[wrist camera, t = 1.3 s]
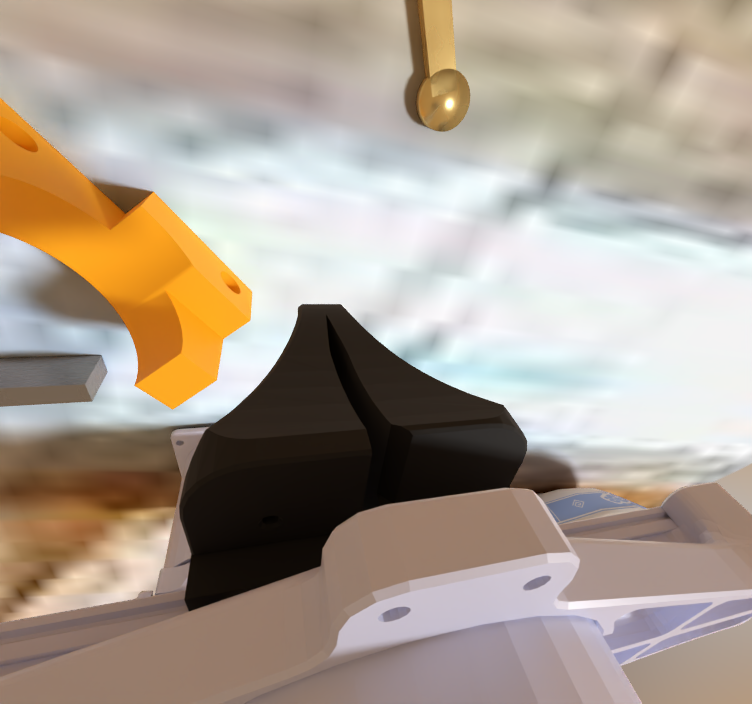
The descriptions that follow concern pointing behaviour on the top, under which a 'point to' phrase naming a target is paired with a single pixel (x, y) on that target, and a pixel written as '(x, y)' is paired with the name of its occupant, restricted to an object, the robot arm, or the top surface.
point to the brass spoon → (440, 69)
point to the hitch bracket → (50, 379)
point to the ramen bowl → (585, 504)
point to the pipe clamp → (125, 262)
